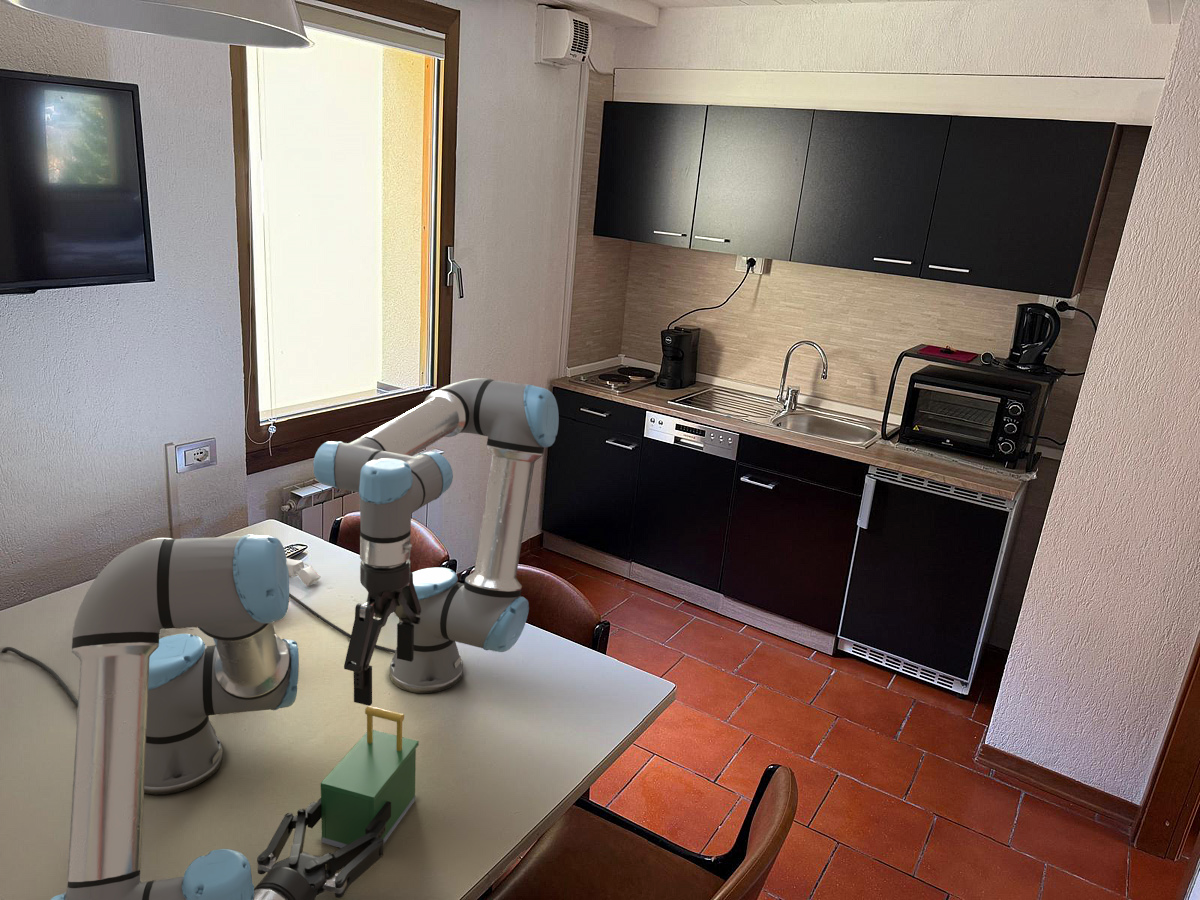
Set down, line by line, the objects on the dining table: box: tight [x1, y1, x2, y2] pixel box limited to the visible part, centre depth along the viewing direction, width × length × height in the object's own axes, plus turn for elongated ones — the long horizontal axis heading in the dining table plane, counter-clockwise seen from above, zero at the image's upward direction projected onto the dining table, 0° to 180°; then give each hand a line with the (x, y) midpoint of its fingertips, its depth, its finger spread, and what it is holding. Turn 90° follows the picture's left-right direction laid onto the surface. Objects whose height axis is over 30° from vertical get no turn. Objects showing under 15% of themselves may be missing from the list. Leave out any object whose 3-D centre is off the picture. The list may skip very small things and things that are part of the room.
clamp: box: [286, 557, 322, 587], centre depth 219 cm, size 20×4×7 cm, turn 62°
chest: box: [320, 748, 417, 849], centre depth 139 cm, size 14×9×10 cm, turn 165°
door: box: [320, 705, 420, 802], centre depth 137 cm, size 15×9×8 cm, turn 165°
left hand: (360, 801), depth 136 cm, fingers closed on chest, 9 cm apart
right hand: (385, 680), depth 138 cm, fingers open, 13 cm apart
